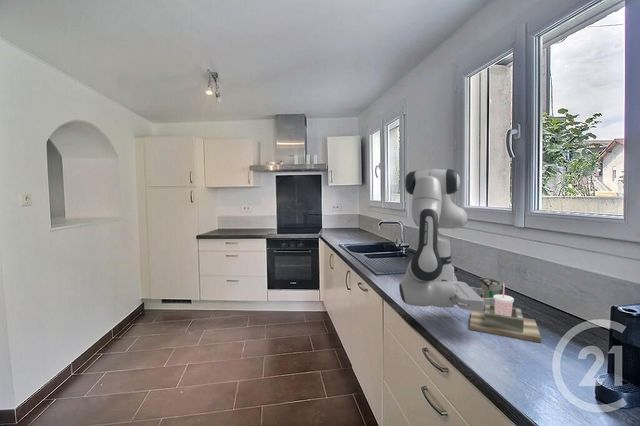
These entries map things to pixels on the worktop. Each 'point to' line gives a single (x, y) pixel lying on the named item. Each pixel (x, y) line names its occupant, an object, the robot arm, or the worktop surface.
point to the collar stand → (505, 324)
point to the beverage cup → (503, 304)
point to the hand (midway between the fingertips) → (488, 295)
